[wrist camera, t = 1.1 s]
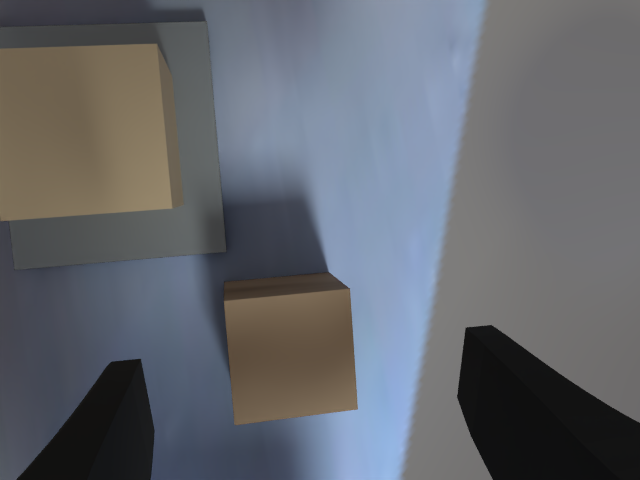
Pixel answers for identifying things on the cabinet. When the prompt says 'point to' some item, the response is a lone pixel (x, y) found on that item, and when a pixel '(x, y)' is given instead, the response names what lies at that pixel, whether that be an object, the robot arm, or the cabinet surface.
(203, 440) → the cabinet surface
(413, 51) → the cabinet surface
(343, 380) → the walnut block
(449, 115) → the cabinet surface
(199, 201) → the tower base
